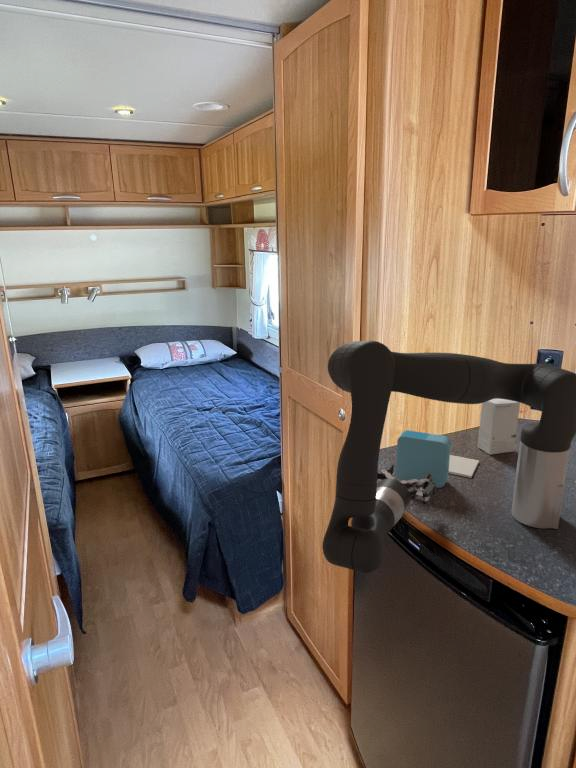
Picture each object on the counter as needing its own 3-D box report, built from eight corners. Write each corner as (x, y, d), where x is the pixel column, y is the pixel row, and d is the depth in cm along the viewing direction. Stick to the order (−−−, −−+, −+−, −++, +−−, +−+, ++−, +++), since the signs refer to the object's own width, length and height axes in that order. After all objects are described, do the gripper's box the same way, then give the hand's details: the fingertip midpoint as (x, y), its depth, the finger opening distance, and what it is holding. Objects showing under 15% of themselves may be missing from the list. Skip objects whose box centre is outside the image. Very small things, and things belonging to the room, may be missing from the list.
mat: (478, 462, 133) (479, 460, 133) (471, 478, 125) (471, 475, 125) (426, 452, 140) (426, 450, 140) (415, 466, 132) (416, 464, 131)
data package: (447, 481, 123) (451, 436, 120) (444, 489, 120) (448, 443, 116) (400, 472, 129) (402, 429, 125) (395, 479, 125) (397, 435, 121)
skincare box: (489, 455, 137) (494, 404, 133) (476, 447, 143) (480, 397, 138) (515, 451, 139) (521, 401, 135) (501, 443, 145) (506, 394, 140)
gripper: (421, 496, 96) (442, 463, 109) (353, 479, 103) (380, 450, 116) (419, 530, 98) (440, 493, 111) (352, 512, 105) (379, 479, 118)
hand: (410, 471), depth 114 cm, fingers open, 8 cm apart
